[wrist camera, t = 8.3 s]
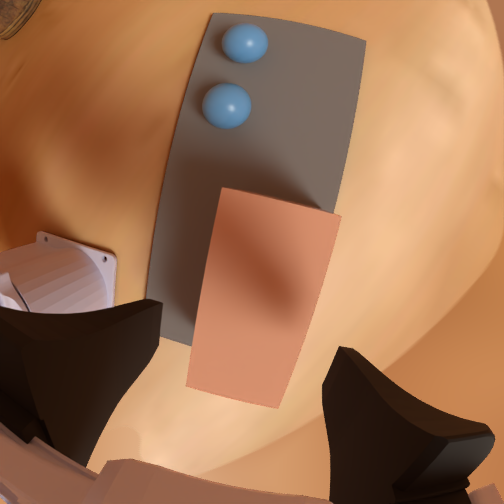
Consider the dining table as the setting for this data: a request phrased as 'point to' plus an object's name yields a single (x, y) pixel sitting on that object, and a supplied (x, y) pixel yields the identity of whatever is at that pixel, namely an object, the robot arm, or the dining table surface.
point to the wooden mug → (15, 15)
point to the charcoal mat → (251, 147)
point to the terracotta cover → (258, 294)
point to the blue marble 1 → (244, 43)
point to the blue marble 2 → (226, 105)
